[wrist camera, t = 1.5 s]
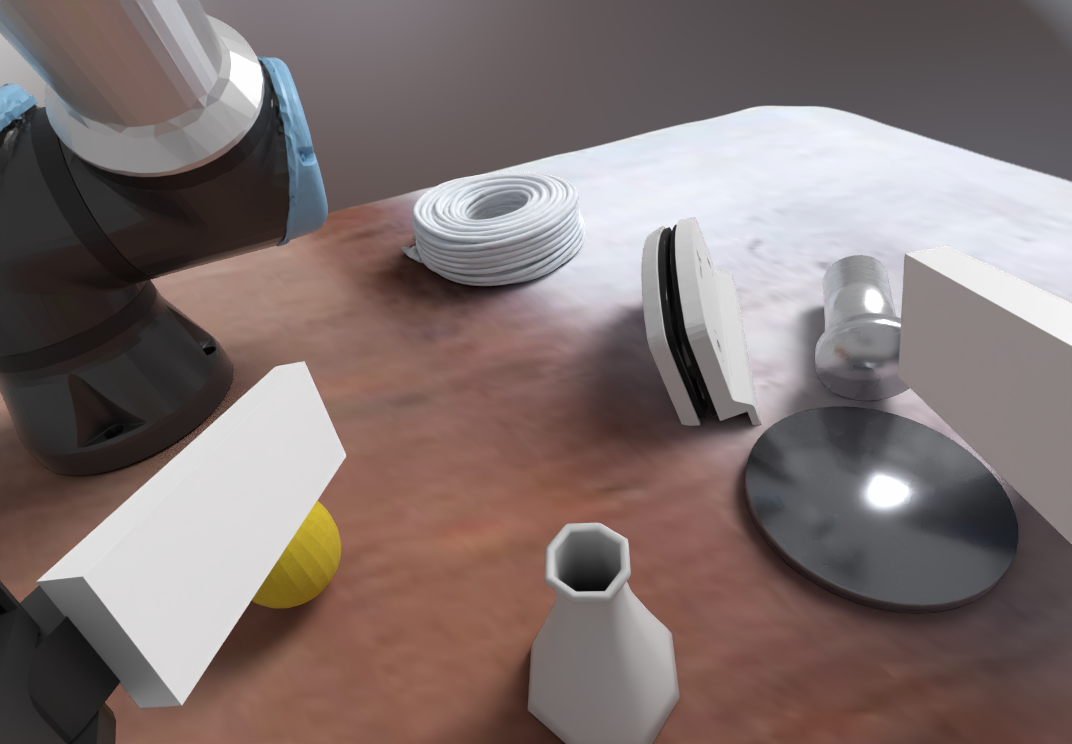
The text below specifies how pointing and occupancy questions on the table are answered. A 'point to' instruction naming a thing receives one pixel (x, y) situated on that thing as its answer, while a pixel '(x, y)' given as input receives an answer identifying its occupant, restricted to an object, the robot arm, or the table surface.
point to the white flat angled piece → (695, 326)
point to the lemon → (303, 563)
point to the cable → (497, 227)
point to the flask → (599, 647)
